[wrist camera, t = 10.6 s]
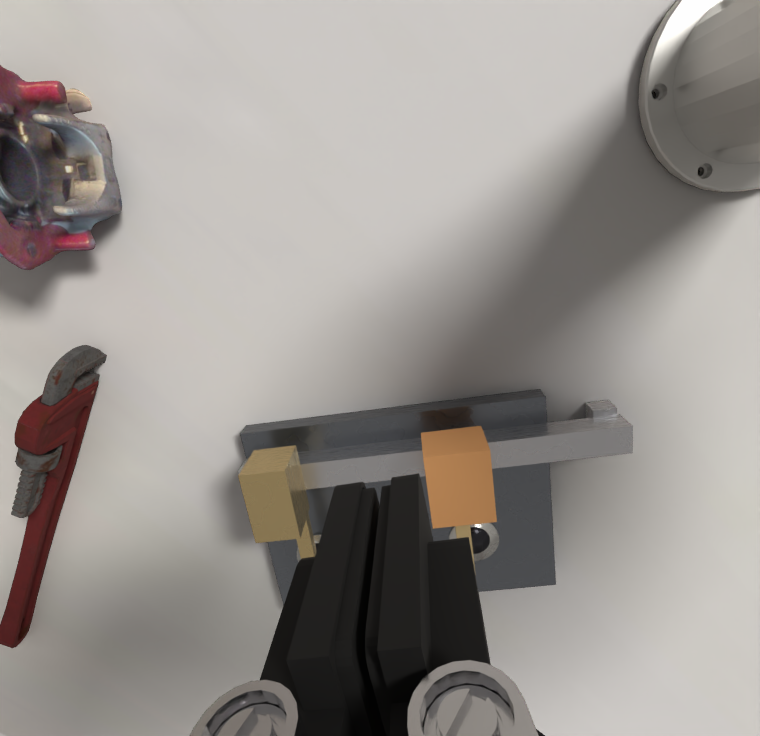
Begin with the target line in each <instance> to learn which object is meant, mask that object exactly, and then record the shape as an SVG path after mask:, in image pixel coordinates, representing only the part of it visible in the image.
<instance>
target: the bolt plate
mask: <svg viewBox="0 0 760 736" xmlns="http://www.w3.org/2000/svg"><path fill="white" fill-rule="evenodd" d="M474 426H481V427H482V429H483V432H484V435H485V437H486V440H487V443H488V445H489V448H490V453H491V463H492V474H493V485H494V496H495V507H496V518H497V522H492V523H482V524H472V525H470V529H471V538H472V547H473V556H474V565H475V574H476V581H477V587H478V592H481V591H492V590H503V589H514V588H524V587H535V586H546V585H556V579H555V561H554V542H553V523H552V505H551V486H550V468H549V462H557V461H566V460H574V459H583V458H592V457H601V456H610V455H619V454H628V453H632V451H633V426H632V425H631V424H630V423H629V422H628V421H627V420H626V419H625V418H623V417H622V416H621V415H620V414H617V408H616V407H615V406H614V405H613V404H612V403H611V402H610V401H609V400H605V401H596V402H588V403H586V418H583V419H574V420H566V421H557V422H549V423H547V412H546V396H545V395H544V394H543V392H542V391H541V390H540V389H537V390H529V391H521V392H512V393H504V394H496V395H488V396H480V397H472V398H464V399H456V400H448V401H440V402H432V403H424V404H416V405H408V406H400V407H391V408H383V409H375V410H367V411H359V412H351V413H343V414H335V415H327V416H319V417H311V418H303V419H295V420H287V421H278V422H270V423H262V424H254V425H246V426H245V428H244V429H243V431H242V432H241V433H240V435H241V439H242V443H243V447H244V451H245V455H246V460H245V461H244V463H243V464H242V466H241V468H240V469H239V471H238V474H239V475H238V477H239V481H240V485H241V489H242V493H243V496H244V500H245V504H246V508H247V512H248V516H249V519H250V523H251V527H252V531H253V535H254V538H255V542H256V543H262V542H268V546H269V550H270V554H271V558H272V562H273V566H274V570H275V573H276V577H277V581H278V585H279V589H280V593H281V597H282V601H283V605H284V603H285V600H286V597H287V594H288V591H289V588H290V585H291V582H292V579H293V575H294V572H295V569H296V566H297V564H298V562H299V560H301V559H302V558H308V557H315V556H316V552H317V548H318V545H319V541H320V538H321V534H322V530H323V527H324V523H325V520H326V516H327V513H328V509H329V505H330V502H331V498H332V495H333V491H334V488H335V486H337V485H343V484H350V483H357V482H364V484H365V486H366V489H367V488H373V487H374V488H375V490H376V493H377V496H378V501H379V505H380V497H381V489H382V486H387V485H391V478H392V477H398V476H405V475H412V474H418V473H419V475H420V478H421V482H422V487H423V492H424V497H425V502H426V506H427V511H428V516H429V521H430V526H431V531H432V536H433V541H441V540H449V539H456V530H455V526H453V527H443V528H434V529H433V526H432V519H431V512H430V505H429V497H428V490H427V483H426V475H425V468H424V461H423V451H422V441H421V433H423V432H432V431H440V430H449V429H457V428H465V427H474Z"/></svg>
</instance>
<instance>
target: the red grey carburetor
mask: <svg viewBox="0 0 760 736" xmlns="http://www.w3.org/2000/svg"><path fill="white" fill-rule="evenodd" d="M91 109H92V106H91V102H90V100H89V98H87V97H86V96H85V95H84V94H83V93H82V92H80V91H79V90H76V89H70V90H67V91H65V87H64V86H63V84H62V83H61V82H59V81H41V82H25V81H24V80H22V79H21V78H20V77H19V76H18V75H17V74H15V73H13V72H11V71H9V70H6V69H5V68H3V67H2V66H1V65H0V257H5V258H6V259H7V260H8V261H9V262H11V263H13V264H14V265H16V266H17V267H19V268H21V269H24V270H31V269H34V268H35V267H37V266H39V265H41V264H43V263H45V262H46V261H49V260H51V259H52V258H53V257H54V256H55V255H57V254H58V253H60V252H61V251H67V250H91V249H94V247H95V245H96V244H95V240H94V238H93V236H92V234H91V229H92V227H93V225H94V224H95V223H97V222H99V221H102V220H106V219H108V218H110V216H112V215H116V214H119V213H120V212H121V210H122V201H121V195H120V189H119V185H118V181H117V178H116V174H115V171H114V167H113V162H112V146H111V140H110V137H109V134H108V131H107V129H106V127H105V126H104V125H102V124H95V123H89V122H85V121H82V120H80V119H78V118H77V117H75V116H74V115H73V114H75V113H79V112H86V111H90V110H91Z"/></svg>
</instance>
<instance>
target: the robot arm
mask: <svg viewBox="0 0 760 736" xmlns="http://www.w3.org/2000/svg"><path fill="white" fill-rule="evenodd" d="M652 91H654V92H655V93H656V97H655V99H654V98H653V97H652ZM638 104H639V111H640V119H641V125H642V128H643V131H644V134H645V137H646V140H647V143H648V144H649V146H650V148H651V149H652V151H653V153H654V155H655V156H656V158H657V159H658V161H659V162H660V163H661V164H662V165H663V166H664V167H665V168H666V169H667V170H668V171H669V172H670V173H671V174H673V175H674V176H676V177H677V178H679V179H680V180H682V181H683V182H685V183H687V184H690V185H692V186H695V187H698V188H700V189H703V190H710V191H717V192H740V191H747V190H753V189H760V0H677V1H676V2H675V4H674V5H673V6H672V7H671V9H670V10H669V11H668V12H667V13H666V15H665V17H664V18H663V20H662V22H661V24H660V25H659V27H658V29H657V30H656V32H655V34H654V35H653V38H652V40H651V43H650V45H649V48H648V51H647V53H646V56H645V58H644V63H643V67H642V72H641V76H640V81H639V101H638ZM698 168H699V169H700V174H699V175H698V173H697V172H698ZM189 736H545V735H543V734H542V733H541V732H539V731H538V730H537V729H536V728H535V725H534V722H533V720H532V717H531V715H530V712H529V710H528V707H527V704H526V702H525V699H524V698H523V696H522V694H521V692H520V691H519V689H518V687H517V685H516V684H515V683H514V682H513V681H512V680H511V679H510V678H509V677H508V676H507V675H506V674H505V673H504V672H503V671H501V670H499V669H497V668H495V667H493V666H491V664H490V658H489V652H488V646H487V640H486V634H485V628H484V622H483V616H482V610H481V604H480V599H479V593H478V587H477V581H476V575H475V570H474V564H473V558H472V553H471V547H470V541H469V537H464V538H456V539H449V540H441V541H433V536H432V531H431V526H430V521H429V516H428V511H427V506H426V502H425V497H424V492H423V487H422V482H421V478H420V475H419V473H418V474H412V475H405V476H398V477H392V478H391V485H387V486H382V489H381V497H380V505H379V501H378V496H377V493H376V490H375V488H374V487H373V488H367V489H366V486H365V484H364V482H357V483H350V484H343V485H337V486H335V488H334V491H333V495H332V498H331V502H330V505H329V509H328V513H327V516H326V520H325V523H324V527H323V530H322V534H321V538H320V541H319V545H318V548H317V552H316V556H315V557H308V558H302V559H301V560H299V562H298V564H297V566H296V569H295V572H294V575H293V579H292V582H291V585H290V588H289V591H288V594H287V597H286V600H285V603H284V606H283V610H282V613H281V616H280V619H279V622H278V625H277V628H276V631H275V634H274V638H273V641H272V644H271V647H270V650H269V653H268V656H267V659H266V662H265V665H264V669H263V672H262V675H261V678H260V681H251V682H248V683H246V684H243V685H240V686H238V687H235V688H233V689H232V690H230V691H229V692H227V693H226V694H224V695H223V696H221V697H220V698H218V699H217V700H216V701H215V702H214V703H213V704H212V705H211V706H210V707H209V708H208V709H207V710H206V711H205V712H204V714H203V715H202V717H201V718H200V720H199V721H198V722H197V724H196V725H195V727H194V728H193V730H192V732H191V734H190V735H189Z"/></svg>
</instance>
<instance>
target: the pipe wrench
mask: <svg viewBox="0 0 760 736" xmlns="http://www.w3.org/2000/svg"><path fill="white" fill-rule="evenodd" d="M106 357H107V355H105V354H104V353H102V352H101V351H100V350H98V349H96V348H94V347H91V346H88V345H82V346H79V347H76V348H74V349H72V350H71V351H69V352H68V353H66V354H65V355H64V356H63V357H61V358H60V359H59V360H58V362H57V363H56V364H55V365H54V366H53V368H52V369H51V371H50V373H49V375H48V378H47V380H46V384H45V387H44V391H43V394H42V395H41V396H40V397H38V398H37V399H36V400H34V401H33V402H32V403H31V404H30V405H29V406H28V407H27V408H26V409H25V410H24V411H23V414H22V415H21V417H20V418H19V420H18V423H17V427H16V431H15V445H16V446H17V447H18V452H17V456H16V461H15V462H16V464H17V466H18V467H20V468H21V469H23V470H22V471H21V474H20V475H22V476H21V477H20V478H19V481H20V482H19V483H18V489H17V491H16V492H17V494H16V495H15V498H16V499H15V500H14V503H13V504H14V505H13V507H12V509H13V511H12V512H11V515H14V516H16V517H19V518H24V517H27V516H29V517H28V521H27V526H26V531H25V535H24V540H23V544H22V548H21V553H20V557H19V561H18V565H17V569H16V573H15V576H14V580H13V584H12V587H11V591H10V595H9V599H8V602H7V606H6V610H5V612H4V615H3V618H2V621H1V624H0V644H2V645H5V646H8V647H11V648H14V647H16V646H17V645H18V644H19V643H20V642H21V641H22V640H23V639H24V637H25V636H26V634H27V632H28V631H29V628H30V624H31V621H32V617H33V613H34V609H35V605H36V600H37V595H38V592H39V588H40V584H41V580H42V577H43V573H44V569H45V565H46V561H47V558H48V554H49V550H50V547H51V543H52V540H53V536H54V533H55V529H56V526H57V522H58V519H59V516H60V512H61V509H62V506H63V503H64V500H65V496H66V493H67V490H68V487H69V483H70V480H71V477H72V474H73V471H74V467H75V464H76V461H77V457H78V453H79V450H80V446H81V443H82V439H83V436H84V432H85V429H86V425H87V421H88V418H89V414H90V411H91V407H92V404H93V400H94V397H95V393H96V390H97V386H98V383H99V382H98V379H99V376H100V375H99V374H96V373H94V372H92V371H89V369H90V370H91V368H92V369H93V367H95V366H97V365H99V364H101V363H102V362H103V363H104V362H105V360H106Z"/></svg>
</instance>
